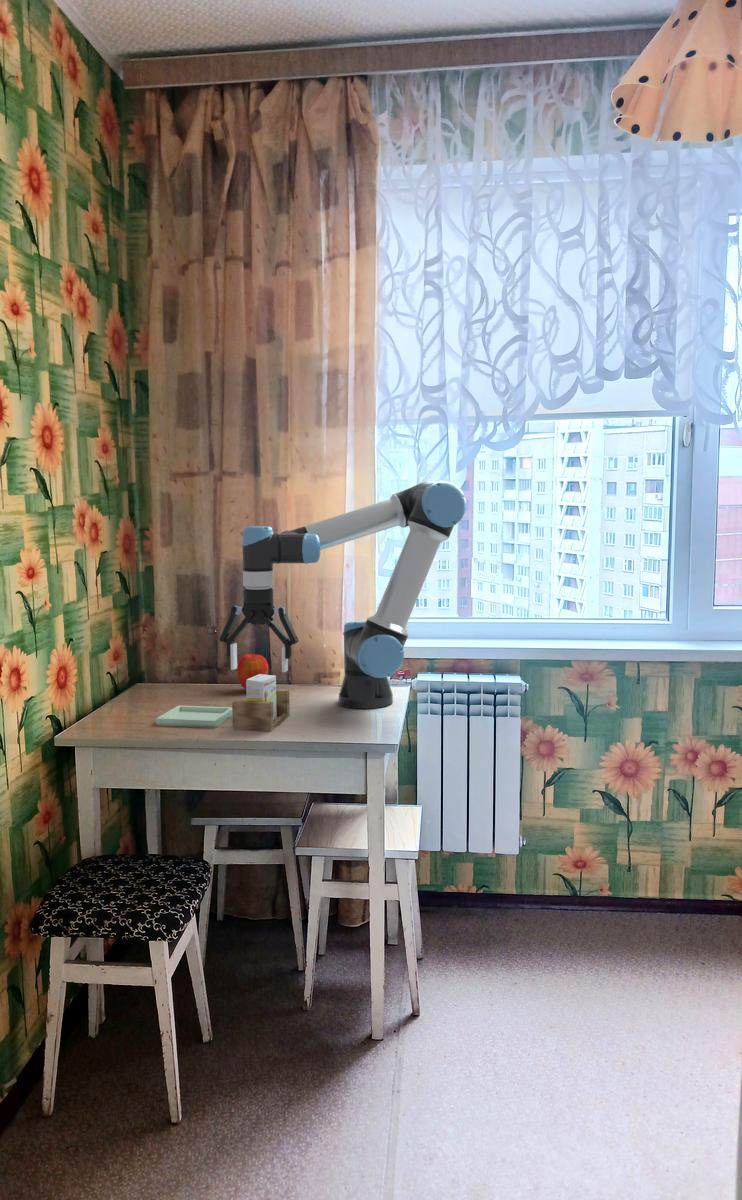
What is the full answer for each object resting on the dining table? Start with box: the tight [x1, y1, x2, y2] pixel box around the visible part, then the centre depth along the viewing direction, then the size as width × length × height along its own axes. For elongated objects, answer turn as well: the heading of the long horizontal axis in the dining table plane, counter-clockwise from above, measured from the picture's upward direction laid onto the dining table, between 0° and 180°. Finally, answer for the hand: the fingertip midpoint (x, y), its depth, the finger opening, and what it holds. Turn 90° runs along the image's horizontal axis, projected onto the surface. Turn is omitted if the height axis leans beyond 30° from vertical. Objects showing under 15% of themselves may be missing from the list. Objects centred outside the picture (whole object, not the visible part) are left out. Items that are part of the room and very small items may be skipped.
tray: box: [155, 705, 233, 729], centre depth 239 cm, size 16×14×2 cm
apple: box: [236, 652, 269, 690], centre depth 270 cm, size 9×9×12 cm
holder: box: [231, 688, 291, 732], centre depth 235 cm, size 10×16×7 cm, turn 168°
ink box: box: [245, 674, 278, 721], centre depth 234 cm, size 9×5×12 cm, turn 161°
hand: (259, 670), depth 233 cm, fingers open, 13 cm apart
